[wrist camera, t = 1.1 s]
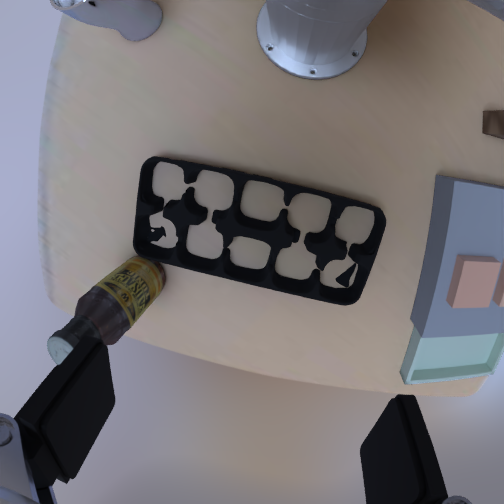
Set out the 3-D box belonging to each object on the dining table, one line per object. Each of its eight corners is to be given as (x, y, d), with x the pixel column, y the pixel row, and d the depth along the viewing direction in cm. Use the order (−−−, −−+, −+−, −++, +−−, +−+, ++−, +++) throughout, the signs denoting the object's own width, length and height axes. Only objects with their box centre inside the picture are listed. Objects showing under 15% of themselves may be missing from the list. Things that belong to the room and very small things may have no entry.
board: (436, 174, 34) (454, 180, 30) (531, 192, 33) (551, 200, 28) (410, 318, 41) (421, 338, 37) (501, 315, 40) (516, 331, 35)
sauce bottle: (176, 280, 43) (109, 376, 24) (145, 301, 44) (75, 394, 26) (146, 241, 41) (57, 318, 23) (116, 265, 43) (30, 343, 24)
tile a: (456, 254, 33) (464, 260, 31) (493, 256, 32) (501, 262, 30) (445, 300, 35) (452, 308, 33) (481, 300, 34) (488, 307, 32)
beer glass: (160, -10, 30) (106, -61, 15) (171, 31, 32) (113, -13, 18) (113, 11, 31) (46, -25, 17) (121, 52, 33) (49, 25, 19)
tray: (416, 318, 41) (423, 329, 38) (505, 315, 40) (514, 324, 37) (399, 372, 45) (404, 384, 42) (486, 364, 43) (493, 374, 40)
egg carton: (368, 293, 41) (375, 307, 38) (148, 284, 44) (138, 296, 40) (383, 158, 35) (393, 161, 32) (137, 156, 38) (123, 158, 34)
